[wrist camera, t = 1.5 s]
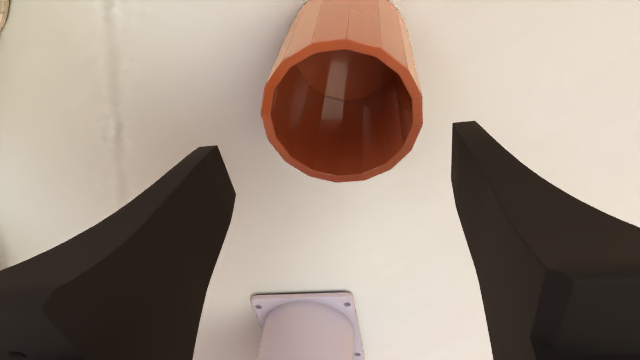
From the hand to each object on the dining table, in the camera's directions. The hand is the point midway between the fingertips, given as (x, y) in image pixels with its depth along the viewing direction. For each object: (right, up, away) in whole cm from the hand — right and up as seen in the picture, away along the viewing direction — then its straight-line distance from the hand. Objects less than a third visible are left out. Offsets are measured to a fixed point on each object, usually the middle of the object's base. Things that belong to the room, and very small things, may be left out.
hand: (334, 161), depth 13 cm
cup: (+1, +6, +8) cm, 10 cm away
